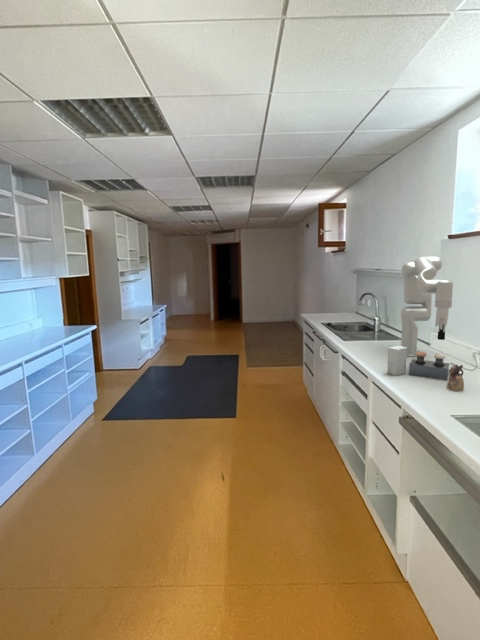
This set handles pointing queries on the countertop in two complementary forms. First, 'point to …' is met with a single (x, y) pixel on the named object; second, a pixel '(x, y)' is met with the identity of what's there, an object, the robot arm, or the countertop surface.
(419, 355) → the knob
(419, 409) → the countertop surface
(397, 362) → the skincare box
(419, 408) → the countertop surface
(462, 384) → the figurine
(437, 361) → the knob
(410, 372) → the housing
